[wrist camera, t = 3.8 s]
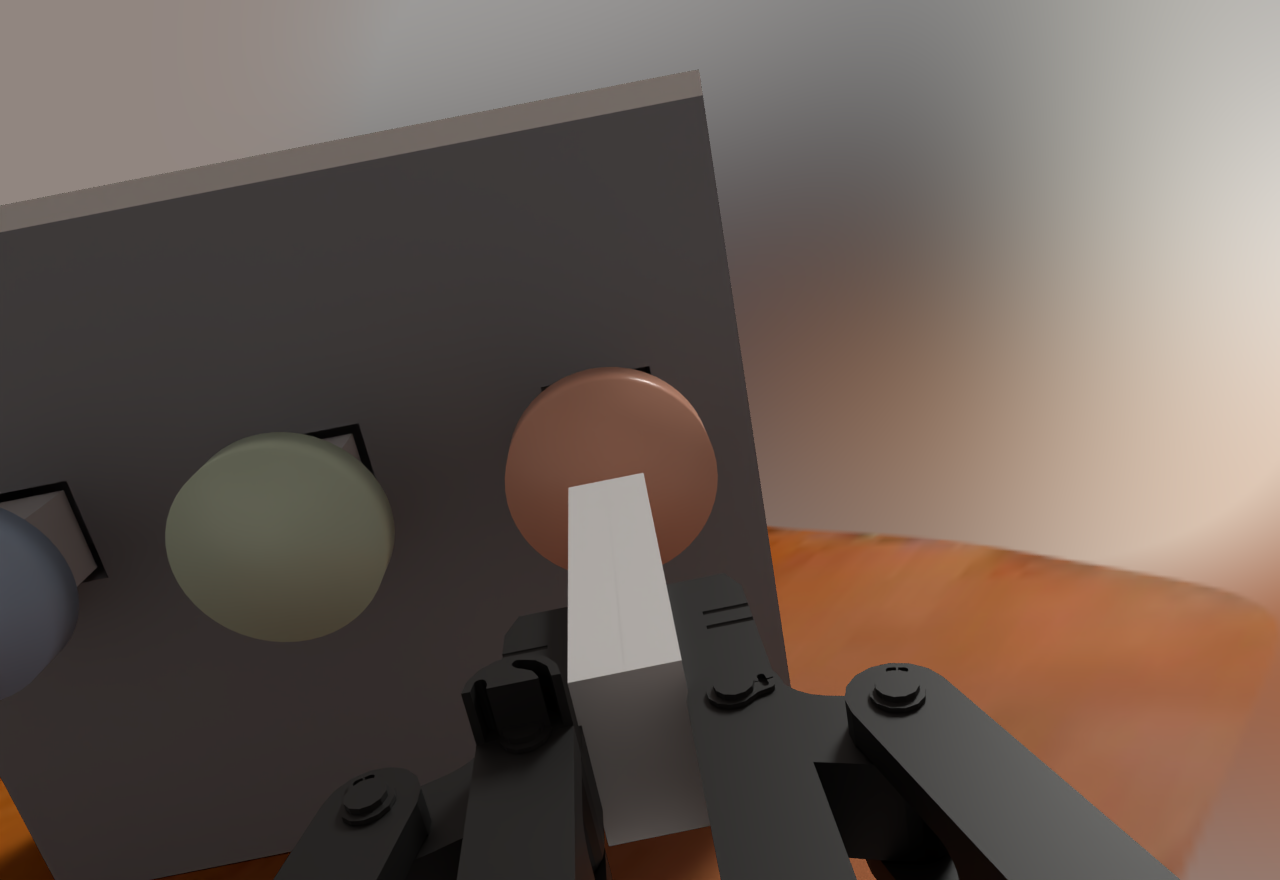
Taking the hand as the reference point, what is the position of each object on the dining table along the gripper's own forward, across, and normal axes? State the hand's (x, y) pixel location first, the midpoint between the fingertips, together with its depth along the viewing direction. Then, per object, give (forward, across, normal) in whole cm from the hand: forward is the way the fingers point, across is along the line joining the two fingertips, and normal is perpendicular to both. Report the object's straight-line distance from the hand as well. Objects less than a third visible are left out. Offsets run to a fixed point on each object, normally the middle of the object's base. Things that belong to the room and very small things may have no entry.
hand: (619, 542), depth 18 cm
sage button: (+6, -8, -3) cm, 10 cm away
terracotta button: (+6, 0, -3) cm, 6 cm away
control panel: (+11, -8, -12) cm, 18 cm away
